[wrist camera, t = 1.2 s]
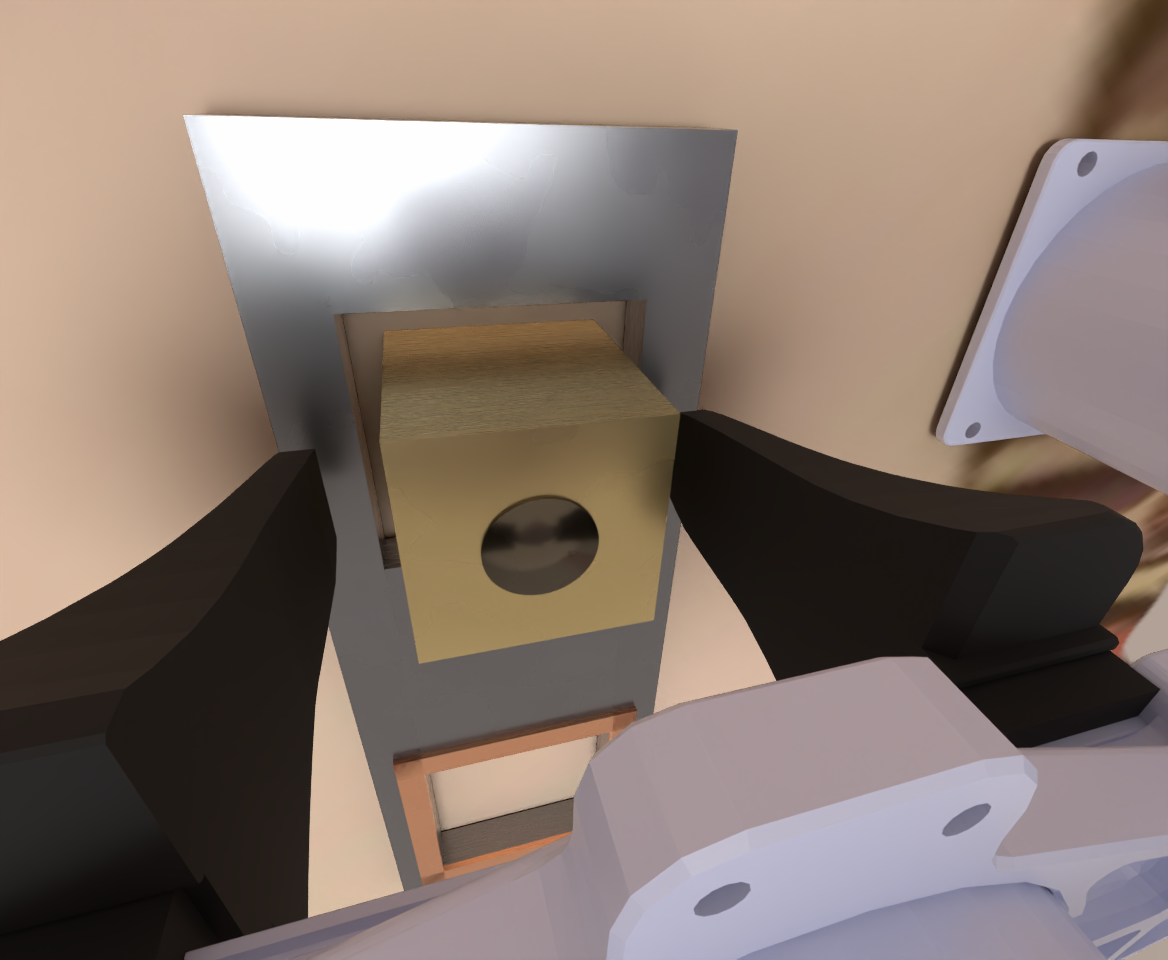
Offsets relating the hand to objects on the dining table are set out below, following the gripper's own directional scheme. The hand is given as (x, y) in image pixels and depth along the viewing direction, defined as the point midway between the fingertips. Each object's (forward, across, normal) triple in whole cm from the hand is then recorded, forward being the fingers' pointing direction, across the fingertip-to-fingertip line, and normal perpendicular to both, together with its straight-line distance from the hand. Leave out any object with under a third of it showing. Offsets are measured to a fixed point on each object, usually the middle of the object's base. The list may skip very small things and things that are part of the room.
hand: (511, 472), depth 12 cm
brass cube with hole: (+2, 0, 0) cm, 3 cm away
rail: (+2, 0, +7) cm, 7 cm away
